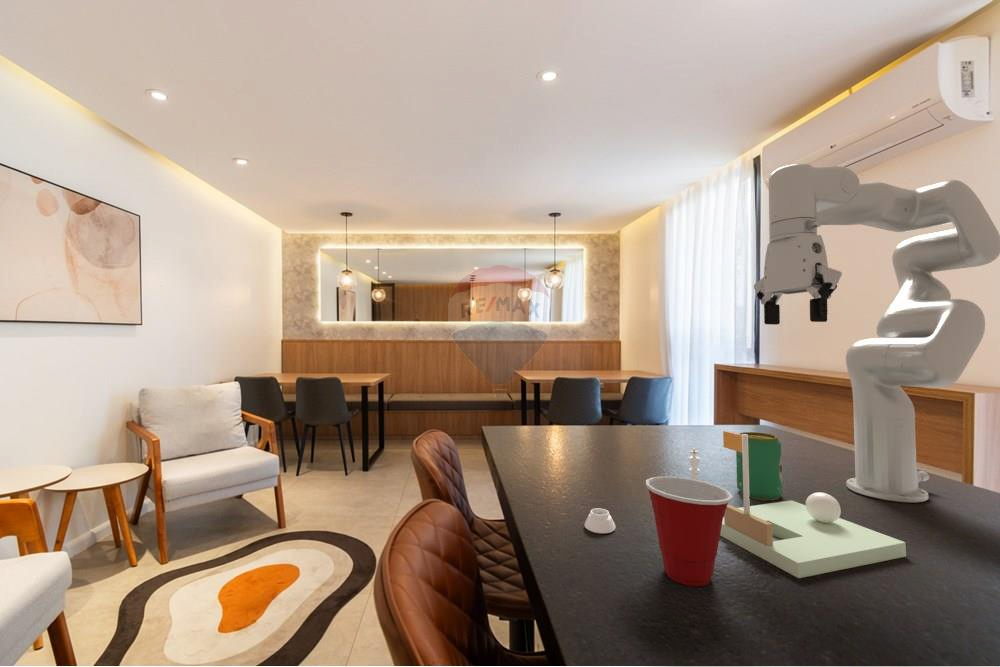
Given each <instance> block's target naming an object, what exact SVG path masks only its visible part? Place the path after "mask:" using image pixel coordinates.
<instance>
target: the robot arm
mask: <svg viewBox="0 0 1000 667" xmlns="http://www.w3.org/2000/svg"><path fill="white" fill-rule="evenodd" d="M859 179H860V178H859V176H858V174H857V173H856V172H855V171H854V170H852V169H850V168H848V167H845V166H839V165H836V166H835V165H833V166H832V165H831V166H813V165H811V164H809V163H808V164H807V163H794V164H789V165H784V166H782V167H779V168H777V169H775V170H774V171H773V172H771V174H770V175H769V178H768V222H769V226H768V227H769V229H768V230H769V231H768V232H769V240H768V241H769V243H768V244H767V247H766V252H765V256H764V257H765V258H764V271H763V277H762V278H761V279H759V280H758V281H756V282H755V283H754V285H753V289H754V291H755V293H756V297H757V298H758V300H759V301H760V304H761V305H763V316H764V318H763V320H764V324H765V325H779V324H780V323H781V321H780V318H781V316H780V315H781V312H780V310H781V309H780V304H779V303H778V302H779V300H780V299H781V297H782V295H793V294H801V293H809V295H810V296H811V297H812V298H810V299H809V321H811V322H812V323H813V322H814V323H816V322H817V323H826V322H828V300H830V299H831V298H832V294H833V293H834V292H835V290H837V288H838V284H839V281H840V279H841V277H842V275H843V273H842V272H841V271H840V270H838V269H835V268H832V267H829V265H828V258H827V257H828V256H827V251H826V246H825V243H824V240H823V236H822V235H820V234H818V228H820V227H821V226H853V225H857V226H858V225H860V226H861V225H862V226H866V227H871V228H876V229H881V230H884V231H889V232H894V233H907V232H914V231H915V232H916V231H919V230H923V229H924V230H925V229H929V228H933V227H938V226H943V225H948V224H951V225H952V226H953V227H954V228H951V229H946V230H942V231H936V232H932V233H931V232H930V233H925V234H921V235H916V236H913V237H910V238H908V239H905V240H903V241H902V242H900V243H899V244H897V245H896V247H895V248H894V250H893V253H892V256H891V258H892V259H891V260H892V267H893V269H894V273H895V276H896V281H897V283H898V291H897V293H896V295H894V298H893V299H892V301H891V302H890V304H889V305H888V307H887V308H886V310H885V311H884V313H883V314H882V316H881V317H880V318H879V321H878V323H877V325H876V326H877V327H876V334H877V337H872V338H866V339H865V338H864V339H861V340H857V341H856V342H854V343H852V344H851V345H850V346H849V348H848V349H847V350H846V355H845V364H846V365H845V366H846V369H847V373H848V376H849V379H850V385H851V392H852V401H853V403H852V404H853V436H854V437H853V438H854V439H853V440H854V441H853V442H854V468H855V469H854V470H855V477H852V478H851V477H850V478H848V479H847V480H846V487H847V488H848V489H849V490H850V491H853V492H854V493H857V494H860V495H864V496H867V497H871V498H874V499H879V500H884V501H891V502H896V503H897V502H898V503H899V502H900V503H924V502H926V501H928V500H929V492H928V491H927V490H925V489H923V488H921V487H919V483H920V482H925V481H929V479H930V475H929V474H928V472H927V471H925V470H920V471H918V470H917V469H918V468H917V442H916V440H917V439H916V412H915V407H914V404H913V402H912V400H911V399H910V397H909V395H908V394H907V393H906V391H904V389H903V388H902V387H904V386H905V387H916V388H917V387H918V388H933V389H935V388H936V389H938V388H946V387H949V386H952V385H953V384H954V383H956V382H957V381H958V380H959V378H960V377H962V376H961V375H962V374H963V373H964V371H965V369H966V368H967V366H968V364H969V362H970V361H971V359H972V357H973V356H974V354H975V352H976V350H977V349H978V348H979V346H980V345H981V342H982V339H983V338H984V334H985V329H986V318H985V315H984V312H983V310H982V309H981V308H980V307H979V305H977V304H976V303H974V302H972V301H971V300H968V299H962V298H961V299H960V298H956V299H955V298H954V299H953V298H952V299H951V297H952V294H951V292H950V290H949V288H948V287H947V286H946V285H945V284H944V283H943V282H942V281H941V280H939V279H938V278H936V277H934V276H933V273H934V272H935V273H936V272H942V271H944V272H945V271H951V270H952V271H953V270H960V269H968V268H975V267H976V268H977V267H981V266H984V265H985V266H986V265H988V264H990V263H992V262H994V261H996V260H997V259H998V257H999V256H1000V233H999V231H998V229H997V227H996V225H995V223H994V222H993V220H992V218H991V217H990V215H989V213H988V211H987V210H986V208H985V206H984V204H983V203H982V201H981V200H980V198H979V197H978V196H977V194H976V192H974V191H973V189H972V188H971V187H970V186H969V185H967V184H966V183H964V181H961V180H957V179H951V180H950V179H949V180H945V181H942V182H937V183H934V184H930V185H926V186H924V187H919V188H914V189H908V188H904V187H899V186H896V185H893V184H892V185H891V184H889V183H885V182H878V181H876V182H874V181H873V182H865V183H860V180H859ZM777 303H778V304H777Z"/></svg>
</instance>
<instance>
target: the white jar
mask: <svg viewBox="0 0 1000 667" xmlns="http://www.w3.org/2000/svg"><path fill="white" fill-rule="evenodd" d="M584 528H586V530H588V531H590V532H591V533H594V534H599V535H600V534H603V535H604V534H605V535H606V534H610V533H612V532H614V531H615V530H616V523H615V521H614V520H613V518H612V516H611V514H610V511H609V510H607V509H605V508H600V507H599V508H597V507H596V508H592V509H590V513H589V514H588V515H587V518H586V520H585V522H584Z"/></svg>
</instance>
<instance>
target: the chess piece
mask: <svg viewBox="0 0 1000 667" xmlns="http://www.w3.org/2000/svg"><path fill="white" fill-rule="evenodd" d="M689 454H691V456H689V457H688V461H689V463H690V466H691V467H690V468H688V471H689V472H691V479H692V480H697V481H699V478H698V473H700V472H701V470H700V468H698V467H699V462H700V460H701V459H700V457H698V456H696V455H699V454H700V453H699V451H698V450H696V447H692V450H689Z"/></svg>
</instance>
